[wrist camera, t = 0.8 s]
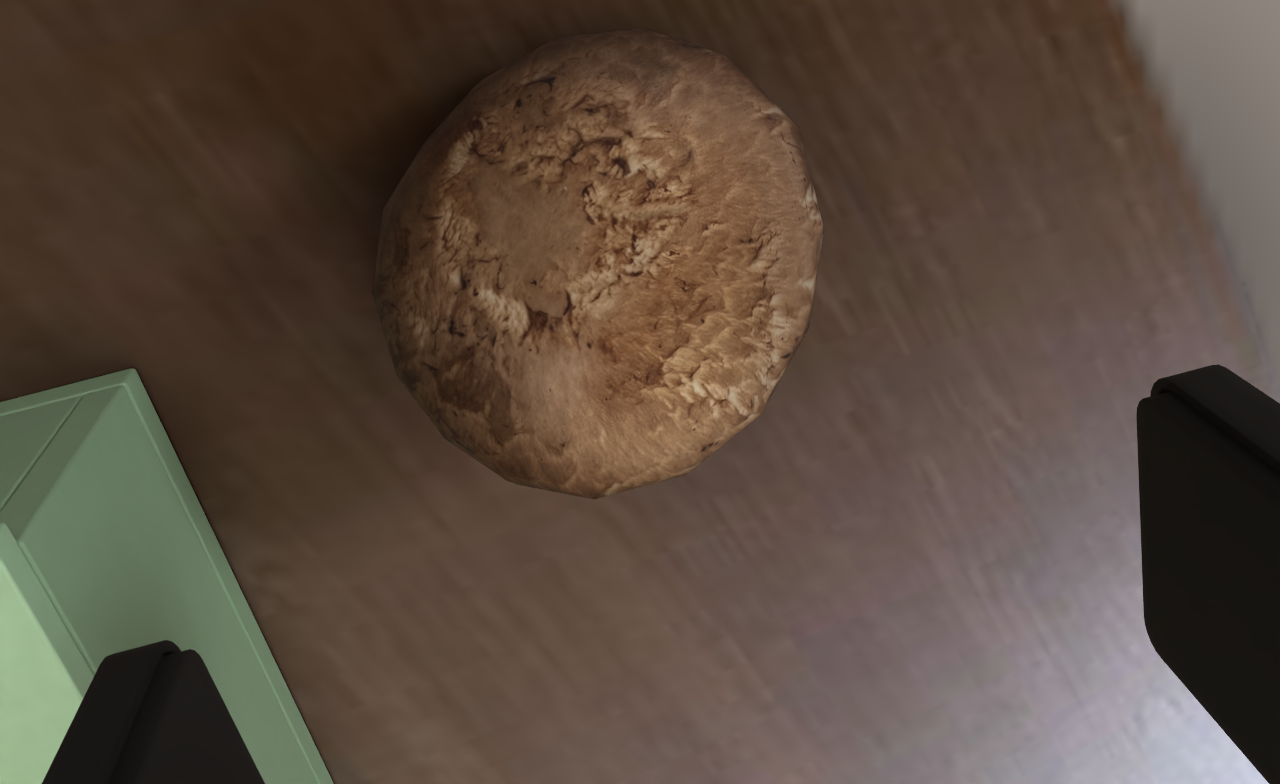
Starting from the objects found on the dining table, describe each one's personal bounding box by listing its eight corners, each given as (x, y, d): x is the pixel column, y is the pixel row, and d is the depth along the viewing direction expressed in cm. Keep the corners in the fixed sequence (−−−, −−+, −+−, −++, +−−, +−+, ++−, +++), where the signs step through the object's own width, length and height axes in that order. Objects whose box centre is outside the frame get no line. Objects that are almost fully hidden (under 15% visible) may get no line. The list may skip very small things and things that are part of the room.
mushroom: (880, 464, 22) (813, 491, 16) (505, 495, 24) (330, 527, 18) (835, 51, 22) (754, -75, 16) (470, 128, 25) (286, 44, 19)
